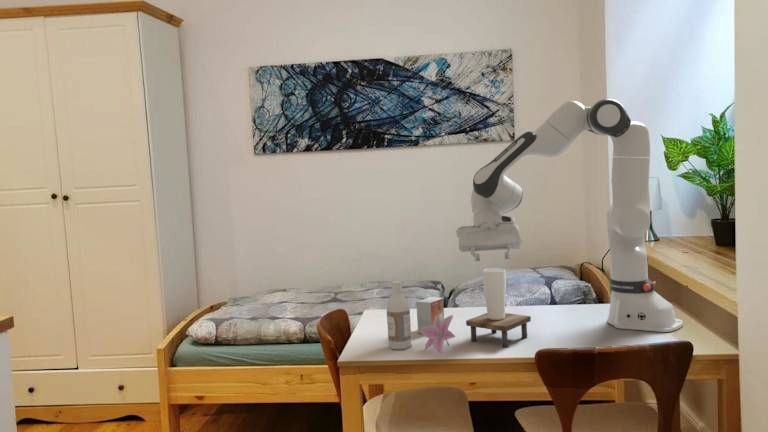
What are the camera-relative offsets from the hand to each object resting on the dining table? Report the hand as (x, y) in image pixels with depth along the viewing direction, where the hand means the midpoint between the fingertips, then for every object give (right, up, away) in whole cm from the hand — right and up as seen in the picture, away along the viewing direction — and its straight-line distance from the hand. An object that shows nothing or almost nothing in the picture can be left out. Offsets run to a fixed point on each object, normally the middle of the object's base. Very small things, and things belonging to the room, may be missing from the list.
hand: (492, 259), depth 211 cm
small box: (-19, -24, +7) cm, 31 cm away
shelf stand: (+1, -24, -7) cm, 25 cm away
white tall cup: (0, -18, -7) cm, 19 cm away
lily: (-18, -26, -13) cm, 34 cm away
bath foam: (-29, -26, -9) cm, 40 cm away
